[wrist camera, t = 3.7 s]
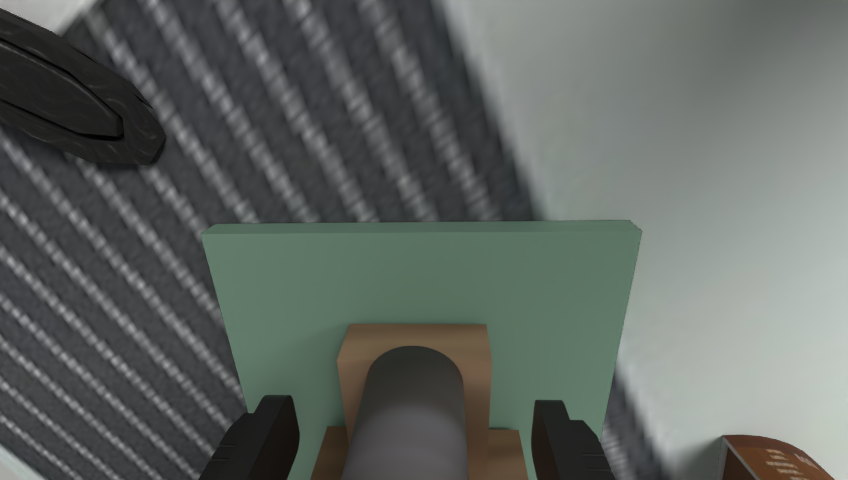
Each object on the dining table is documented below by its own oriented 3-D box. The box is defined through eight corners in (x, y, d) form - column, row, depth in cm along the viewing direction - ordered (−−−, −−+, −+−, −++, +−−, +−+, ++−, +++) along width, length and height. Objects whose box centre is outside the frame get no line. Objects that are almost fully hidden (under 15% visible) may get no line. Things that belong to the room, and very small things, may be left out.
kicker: (308, 309, 15) (201, 498, 8) (529, 310, 14) (598, 510, 8) (331, 453, 18) (266, 674, 11) (516, 457, 17) (558, 690, 11)
